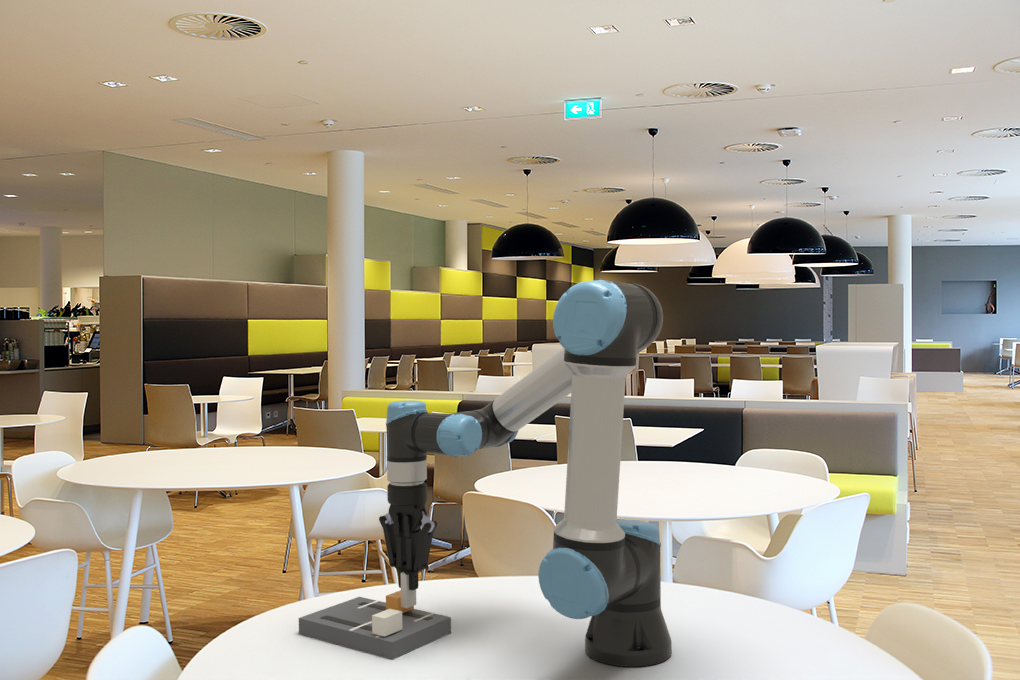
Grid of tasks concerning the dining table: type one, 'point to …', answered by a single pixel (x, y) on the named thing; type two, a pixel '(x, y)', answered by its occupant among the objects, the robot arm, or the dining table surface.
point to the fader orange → (396, 602)
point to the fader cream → (387, 622)
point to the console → (355, 628)
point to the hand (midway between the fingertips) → (408, 605)
